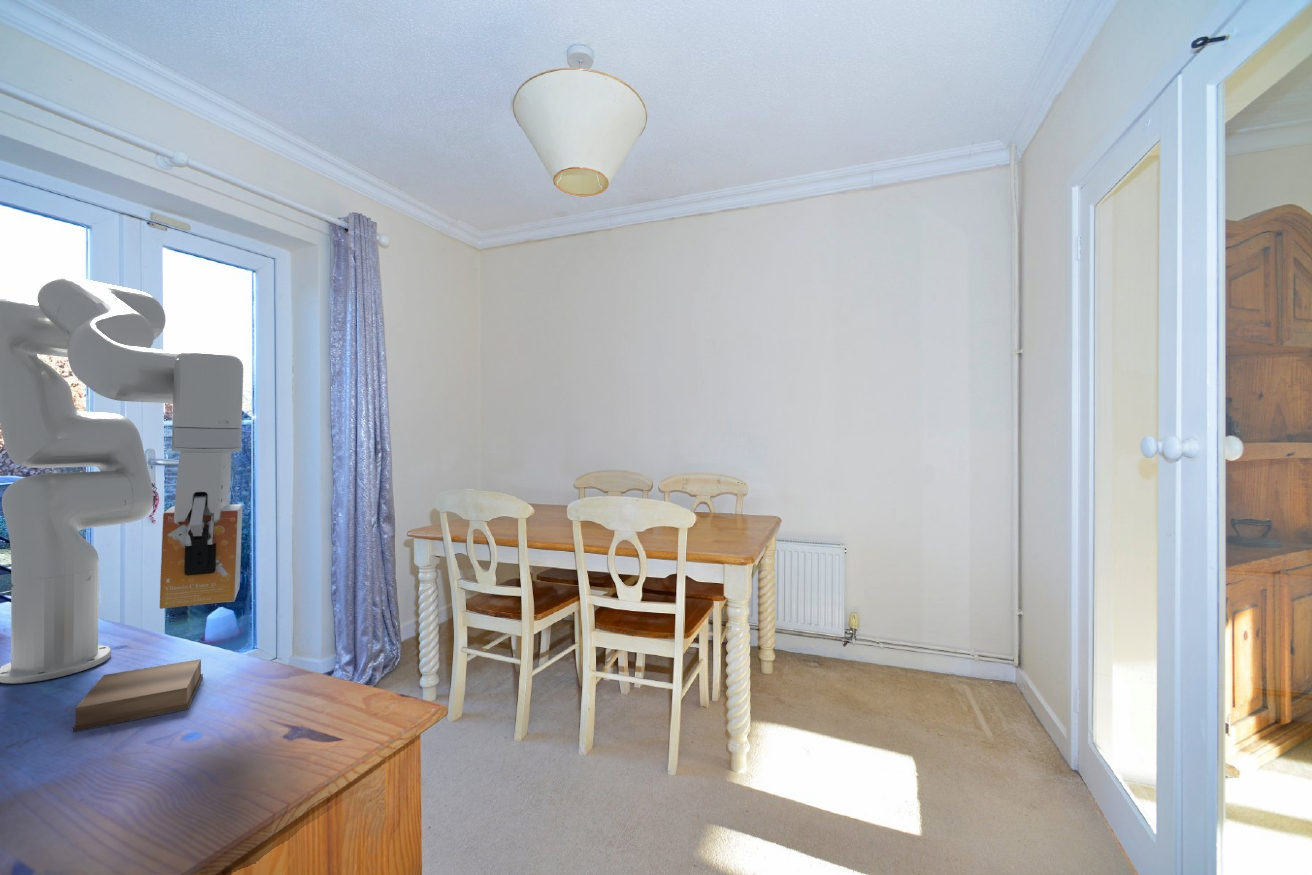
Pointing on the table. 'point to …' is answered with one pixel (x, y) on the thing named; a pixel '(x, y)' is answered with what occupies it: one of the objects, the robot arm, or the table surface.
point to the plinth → (139, 694)
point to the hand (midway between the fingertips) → (204, 566)
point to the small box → (205, 586)
